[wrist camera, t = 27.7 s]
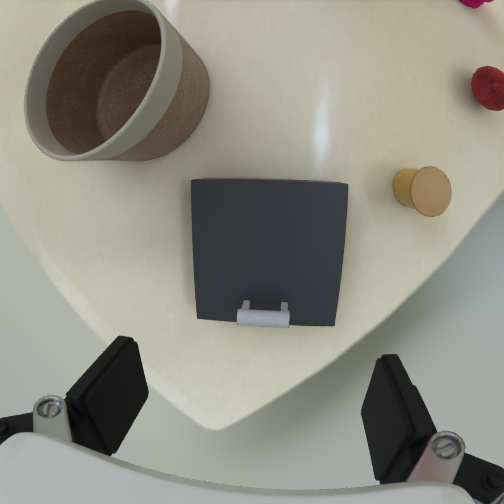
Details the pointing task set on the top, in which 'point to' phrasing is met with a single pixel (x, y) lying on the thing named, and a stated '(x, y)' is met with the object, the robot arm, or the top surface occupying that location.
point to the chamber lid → (268, 250)
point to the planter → (114, 85)
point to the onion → (489, 87)
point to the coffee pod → (423, 190)
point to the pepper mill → (474, 2)
